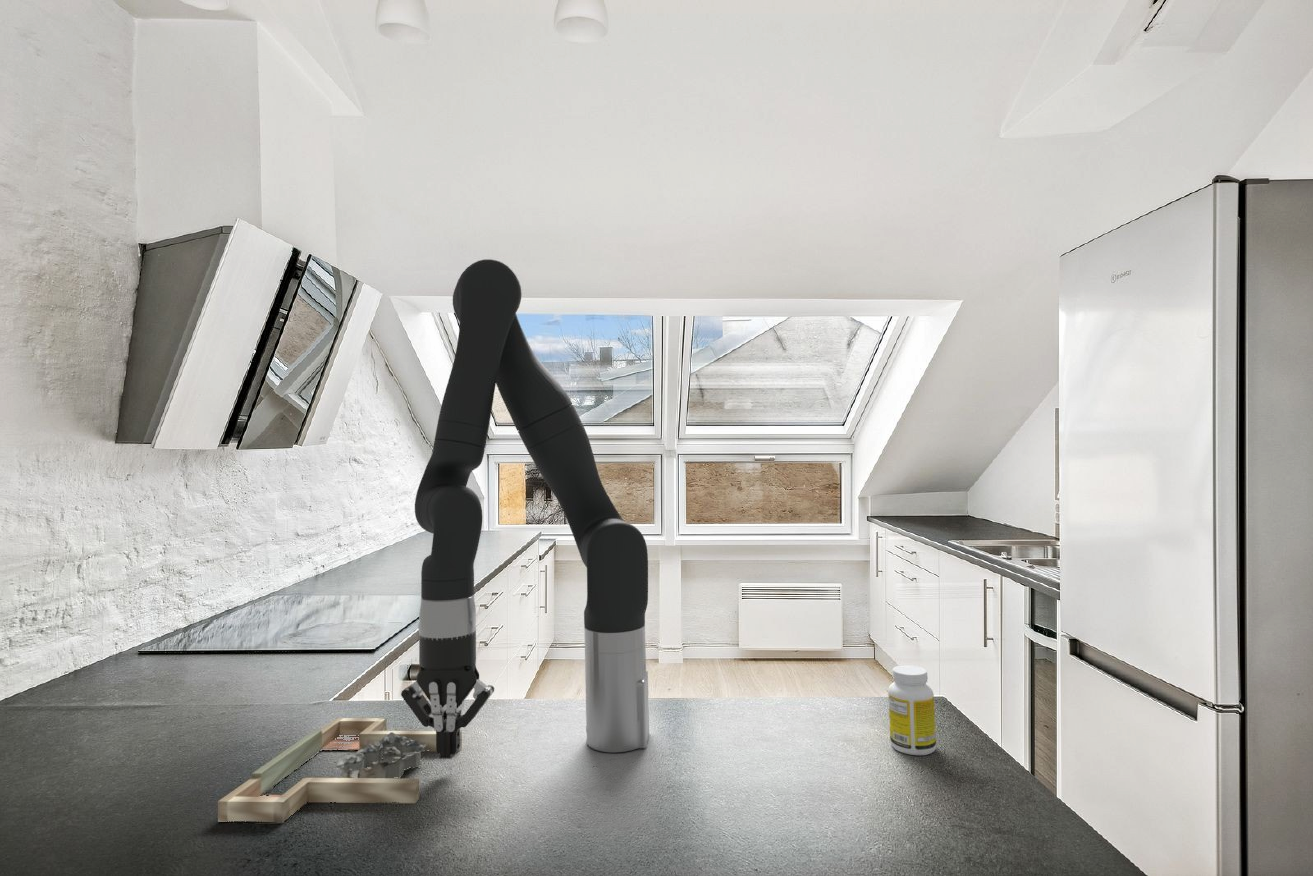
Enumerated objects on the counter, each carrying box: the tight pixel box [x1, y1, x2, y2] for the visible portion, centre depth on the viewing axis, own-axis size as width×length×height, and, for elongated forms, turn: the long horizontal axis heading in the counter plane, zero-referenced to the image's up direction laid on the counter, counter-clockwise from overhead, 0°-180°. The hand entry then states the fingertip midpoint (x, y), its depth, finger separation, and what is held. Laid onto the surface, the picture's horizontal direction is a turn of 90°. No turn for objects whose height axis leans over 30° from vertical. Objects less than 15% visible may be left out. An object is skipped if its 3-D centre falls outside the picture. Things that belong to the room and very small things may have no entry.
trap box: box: [217, 717, 463, 824], centre depth 94 cm, size 22×26×3 cm
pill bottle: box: [887, 665, 937, 756], centre depth 98 cm, size 6×6×11 cm
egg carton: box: [335, 732, 427, 778], centre depth 94 cm, size 11×8×4 cm
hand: (447, 756), depth 94 cm, fingers closed
